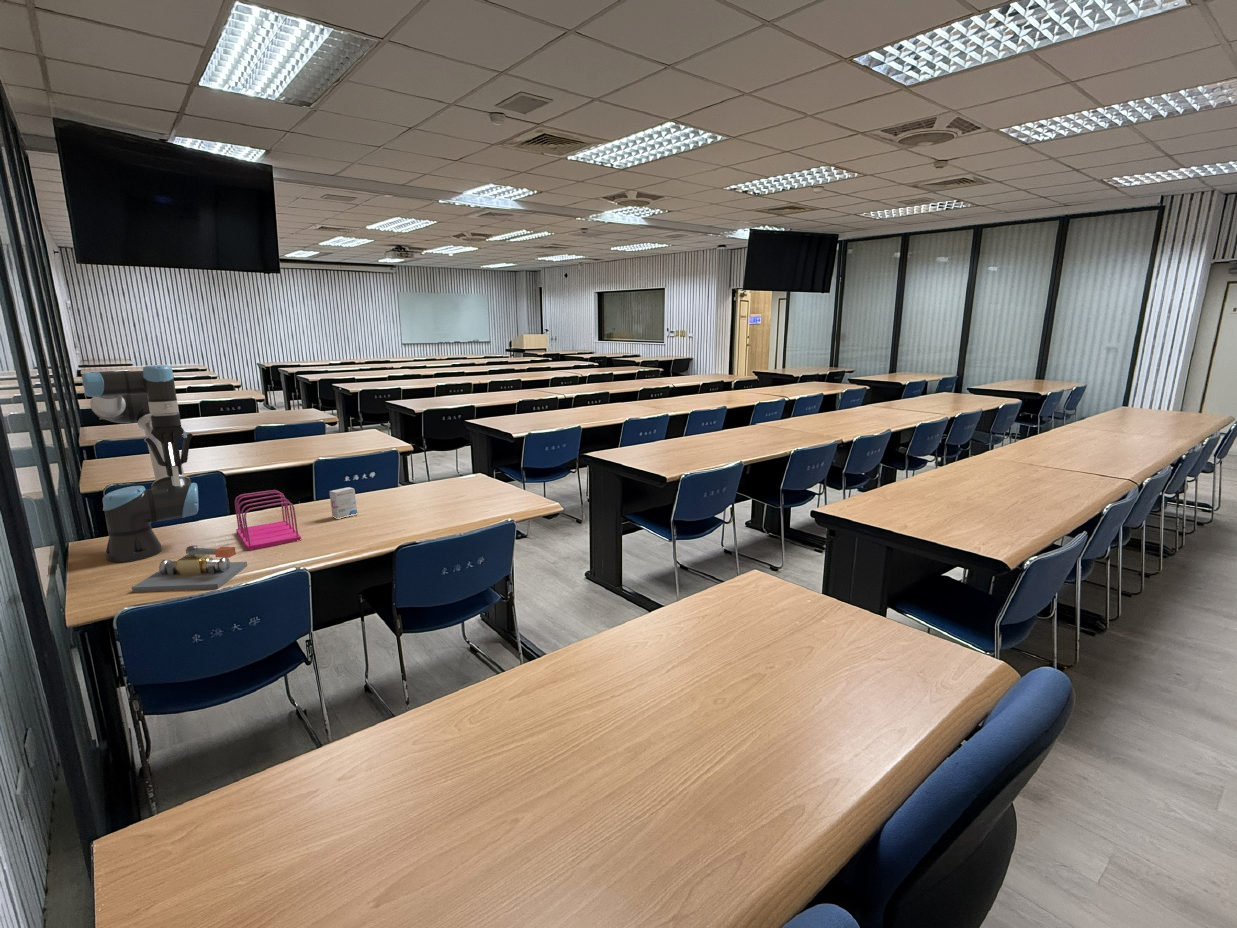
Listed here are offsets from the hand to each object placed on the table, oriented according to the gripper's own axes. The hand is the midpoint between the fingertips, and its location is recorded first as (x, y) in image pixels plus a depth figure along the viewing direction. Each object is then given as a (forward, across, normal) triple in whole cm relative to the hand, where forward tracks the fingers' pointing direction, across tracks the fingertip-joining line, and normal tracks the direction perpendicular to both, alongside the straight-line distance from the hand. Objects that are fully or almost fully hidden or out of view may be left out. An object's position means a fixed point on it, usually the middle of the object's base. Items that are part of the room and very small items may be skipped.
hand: (176, 485), depth 198 cm
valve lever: (+20, 0, -22) cm, 29 cm away
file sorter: (+27, +27, +5) cm, 39 cm away
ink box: (+27, +58, +7) cm, 64 cm away
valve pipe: (+26, -3, -17) cm, 32 cm away
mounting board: (+26, -4, -18) cm, 32 cm away
